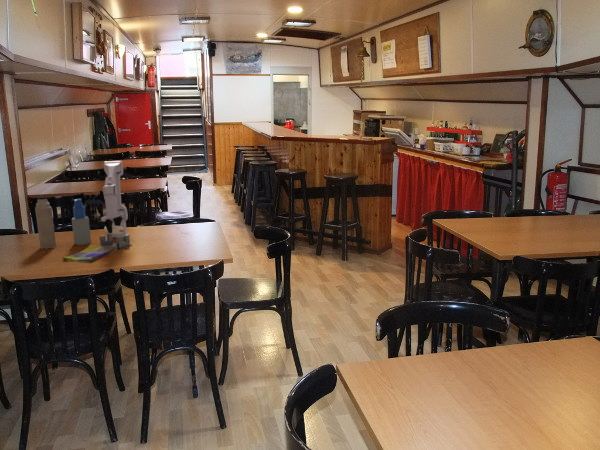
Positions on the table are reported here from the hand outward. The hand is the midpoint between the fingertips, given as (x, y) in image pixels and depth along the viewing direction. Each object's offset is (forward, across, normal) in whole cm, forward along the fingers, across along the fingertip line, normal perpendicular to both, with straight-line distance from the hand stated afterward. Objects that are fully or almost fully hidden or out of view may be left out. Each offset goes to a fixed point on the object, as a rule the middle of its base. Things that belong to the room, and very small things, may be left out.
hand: (113, 231), depth 305 cm
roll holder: (+8, 0, 0) cm, 8 cm away
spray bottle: (+8, -1, +23) cm, 25 cm away
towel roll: (-1, 0, 0) cm, 1 cm away
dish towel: (+9, -18, -1) cm, 20 cm away
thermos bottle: (+8, -15, +34) cm, 38 cm away
